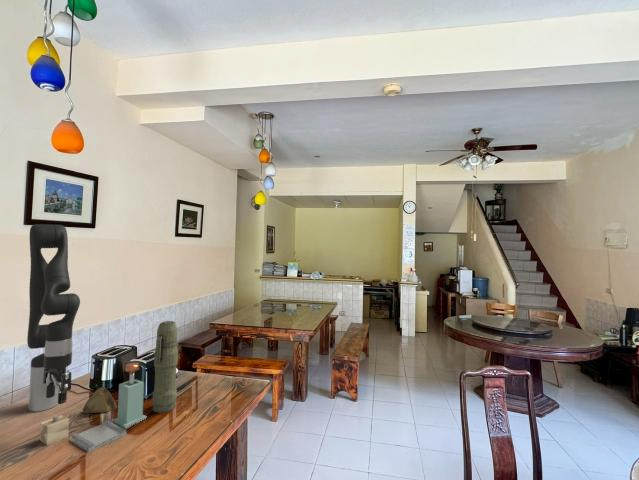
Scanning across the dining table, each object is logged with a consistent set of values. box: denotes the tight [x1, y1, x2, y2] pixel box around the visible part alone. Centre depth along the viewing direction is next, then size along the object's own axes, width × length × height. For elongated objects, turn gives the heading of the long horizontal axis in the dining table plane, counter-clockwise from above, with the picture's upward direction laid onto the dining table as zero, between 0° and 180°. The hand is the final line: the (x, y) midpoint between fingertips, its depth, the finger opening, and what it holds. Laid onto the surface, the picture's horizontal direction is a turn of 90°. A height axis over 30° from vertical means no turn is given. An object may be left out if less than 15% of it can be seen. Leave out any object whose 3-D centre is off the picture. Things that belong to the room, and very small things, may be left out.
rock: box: [82, 387, 118, 414], centre depth 130 cm, size 11×9×10 cm
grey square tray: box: [69, 419, 127, 453], centre depth 111 cm, size 12×12×2 cm
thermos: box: [151, 320, 179, 414], centre depth 134 cm, size 9×12×35 cm
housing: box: [39, 415, 70, 446], centre depth 110 cm, size 5×6×7 cm
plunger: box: [125, 362, 140, 386], centre depth 123 cm, size 4×4×13 cm
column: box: [112, 378, 147, 429], centre depth 123 cm, size 8×8×14 cm
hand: (56, 400), depth 111 cm, fingers open, 8 cm apart
